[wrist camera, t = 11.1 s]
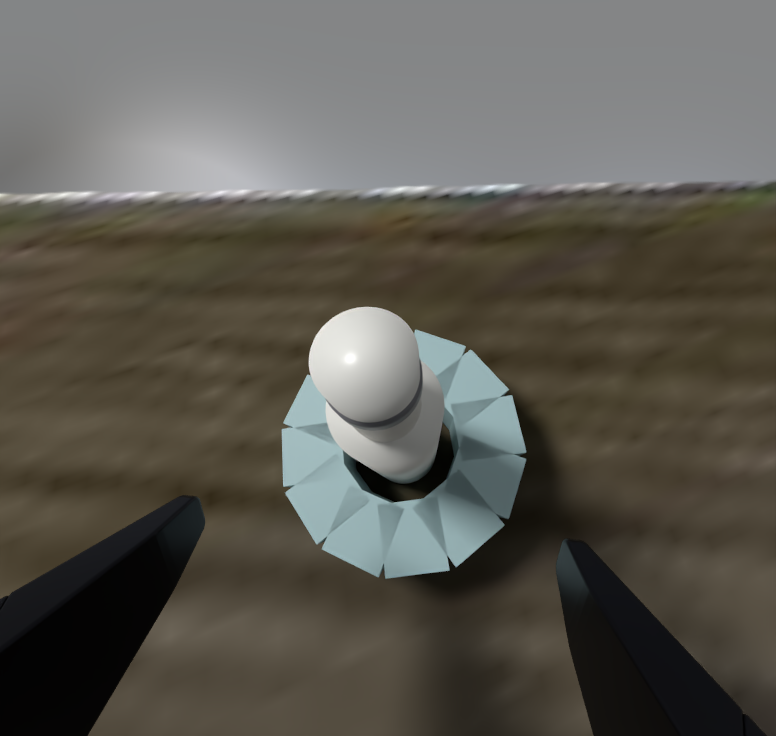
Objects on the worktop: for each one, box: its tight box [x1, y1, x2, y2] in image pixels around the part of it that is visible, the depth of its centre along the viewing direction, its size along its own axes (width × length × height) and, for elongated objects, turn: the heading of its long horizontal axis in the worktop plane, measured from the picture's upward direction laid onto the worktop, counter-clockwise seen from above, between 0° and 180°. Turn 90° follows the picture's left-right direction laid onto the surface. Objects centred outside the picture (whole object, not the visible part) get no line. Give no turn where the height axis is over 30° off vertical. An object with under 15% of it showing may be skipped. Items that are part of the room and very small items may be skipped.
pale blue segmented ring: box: [282, 330, 526, 579], centre depth 17 cm, size 10×10×3 cm
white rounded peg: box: [309, 307, 445, 484], centre depth 13 cm, size 3×3×12 cm
